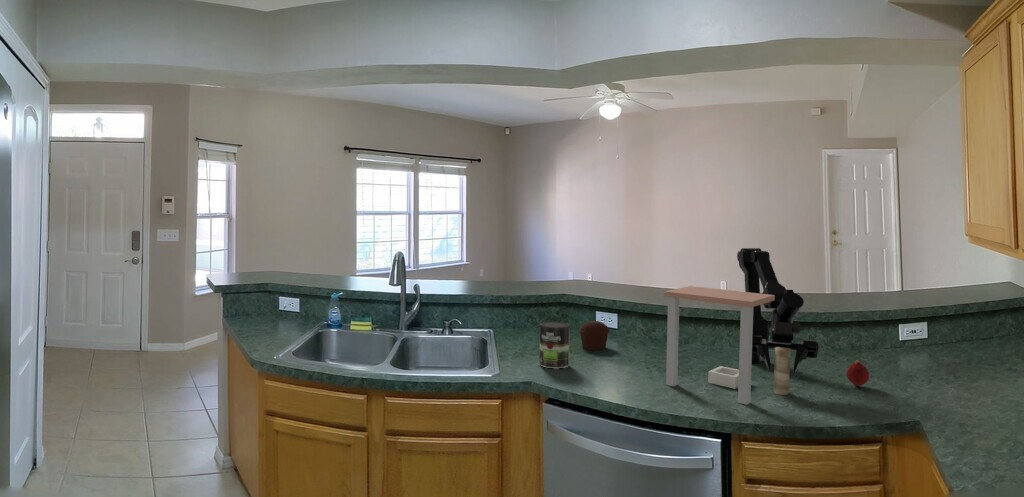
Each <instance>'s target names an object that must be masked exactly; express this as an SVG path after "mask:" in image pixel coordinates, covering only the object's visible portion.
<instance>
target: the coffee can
mask: <svg viewBox="0 0 1024 497" xmlns="http://www.w3.org/2000/svg"><path fill="white" fill-rule="evenodd" d="M570 327H571V325H570V323H568V322H564V321H543V322H540V323H539V363H540V365H541V366H543V367H548V368H564V369H566V368H565V367H567V368H569V367H570V331H571V330H570ZM540 365H539V366H540ZM541 366H540V367H541ZM568 366H569V367H568ZM543 367H542V368H543Z"/></svg>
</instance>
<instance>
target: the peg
mask: <svg viewBox="0 0 1024 497" xmlns="http://www.w3.org/2000/svg"><path fill="white" fill-rule="evenodd" d="M790 367H791V350H790V349H789V348H786V347H775V349H774V366H773V368H774V370H773V393H774V394H777V395H780V396H787V395H789V394H790Z"/></svg>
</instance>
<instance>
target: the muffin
mask: <svg viewBox="0 0 1024 497" xmlns="http://www.w3.org/2000/svg"><path fill="white" fill-rule="evenodd" d="M578 331H579V333H580V338H581V339H580V340H581V345H582V349H583V350H584V349H585V350H587V351H603V350H606V346H607V341H608V335H609V333H610V332H611V330H610V328H609V327H608V325H606V324H605V323H604V322H601V321H598V320H590V321H586V322H585V323H583V324H582V325H581V326H580V327H579V329H578Z"/></svg>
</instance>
